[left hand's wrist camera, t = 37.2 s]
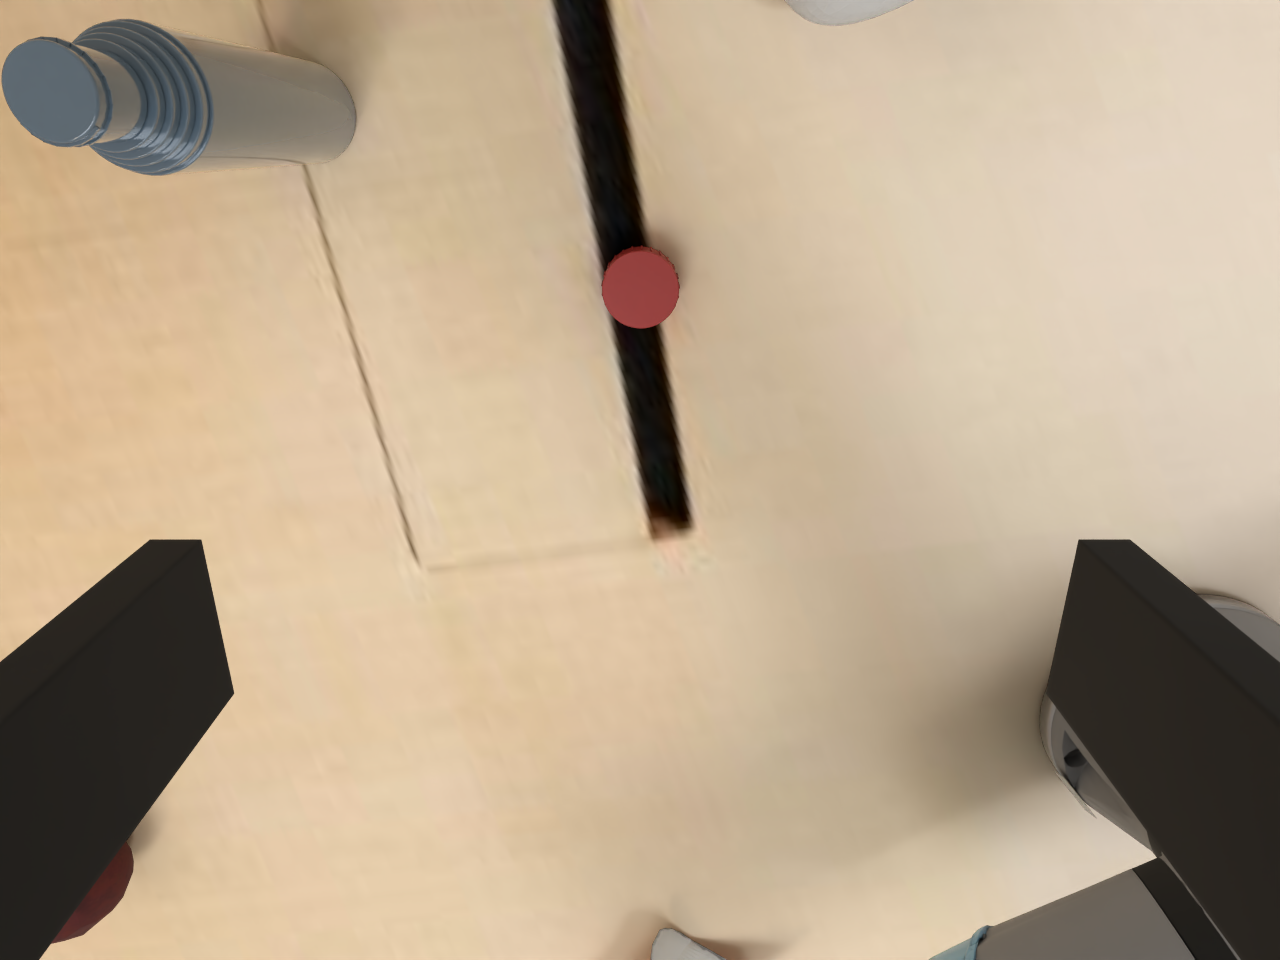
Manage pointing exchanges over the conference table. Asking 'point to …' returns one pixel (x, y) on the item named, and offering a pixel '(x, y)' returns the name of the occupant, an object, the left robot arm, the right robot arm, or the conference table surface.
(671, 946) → the fish
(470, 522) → the conference table surface
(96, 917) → the dark maroon ball
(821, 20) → the projector
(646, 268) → the cap
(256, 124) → the bottle
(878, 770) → the conference table surface
